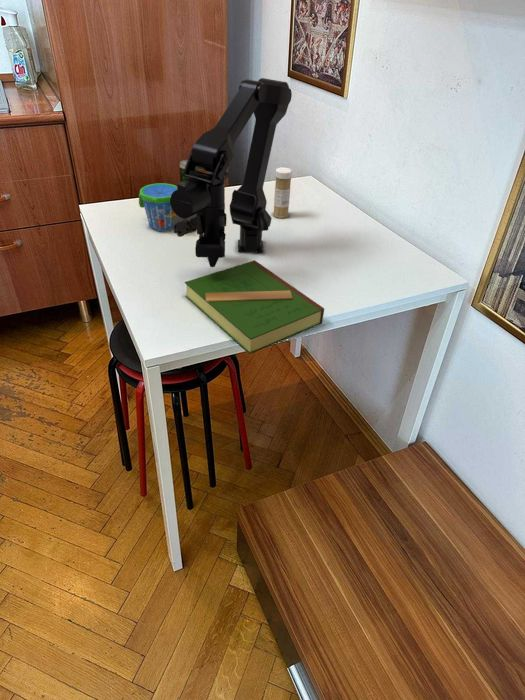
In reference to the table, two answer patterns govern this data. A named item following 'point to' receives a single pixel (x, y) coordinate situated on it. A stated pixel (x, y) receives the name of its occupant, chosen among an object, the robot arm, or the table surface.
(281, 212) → the sprinkles bottle
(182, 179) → the green spice jar
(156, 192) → the snack cup
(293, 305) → the hardcover book
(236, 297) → the ruler
